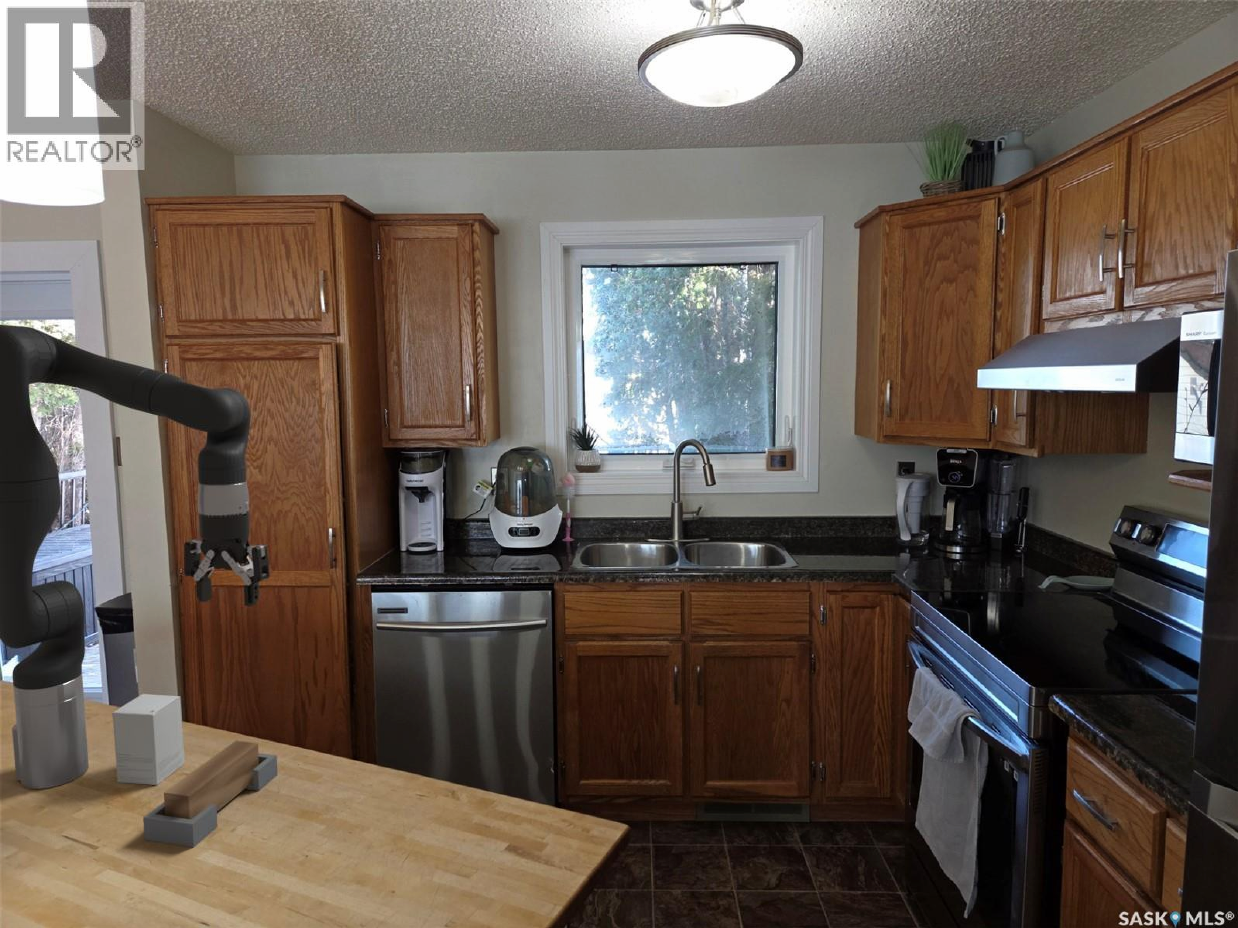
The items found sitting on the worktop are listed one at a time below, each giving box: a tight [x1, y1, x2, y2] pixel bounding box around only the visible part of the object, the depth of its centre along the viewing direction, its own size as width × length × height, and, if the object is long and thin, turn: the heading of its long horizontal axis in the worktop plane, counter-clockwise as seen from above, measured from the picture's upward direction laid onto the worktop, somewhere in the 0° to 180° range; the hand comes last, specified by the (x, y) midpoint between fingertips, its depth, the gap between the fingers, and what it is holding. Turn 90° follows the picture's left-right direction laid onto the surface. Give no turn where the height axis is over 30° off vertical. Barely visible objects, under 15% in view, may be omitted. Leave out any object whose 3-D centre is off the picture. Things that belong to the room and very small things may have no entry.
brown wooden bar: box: [163, 740, 259, 820], centre depth 120 cm, size 4×16×6 cm, turn 170°
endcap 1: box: [143, 801, 218, 848], centre depth 113 cm, size 8×5×4 cm, turn 80°
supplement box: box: [111, 693, 185, 786], centre depth 129 cm, size 7×7×13 cm
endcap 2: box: [244, 752, 278, 792], centre depth 128 cm, size 8×5×4 cm, turn 80°
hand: (228, 602), depth 127 cm, fingers open, 8 cm apart
